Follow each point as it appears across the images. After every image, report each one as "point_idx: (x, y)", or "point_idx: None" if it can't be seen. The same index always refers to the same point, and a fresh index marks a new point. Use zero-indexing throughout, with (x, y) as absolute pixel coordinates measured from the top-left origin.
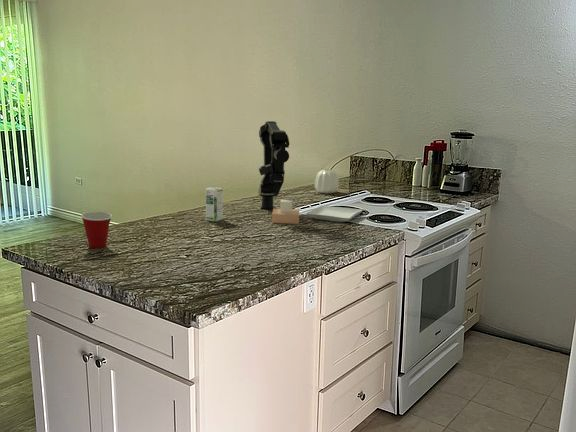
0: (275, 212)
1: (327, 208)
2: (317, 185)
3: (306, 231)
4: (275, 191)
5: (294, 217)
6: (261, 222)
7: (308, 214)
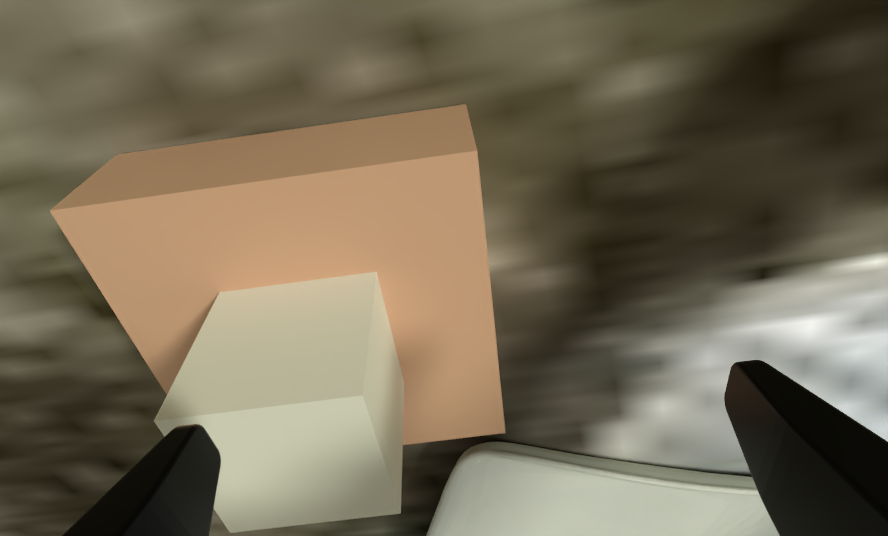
0: (189, 235)
1: None
2: None
3: (6, 468)
4: (90, 531)
5: None
6: (47, 5)
7: (455, 465)
